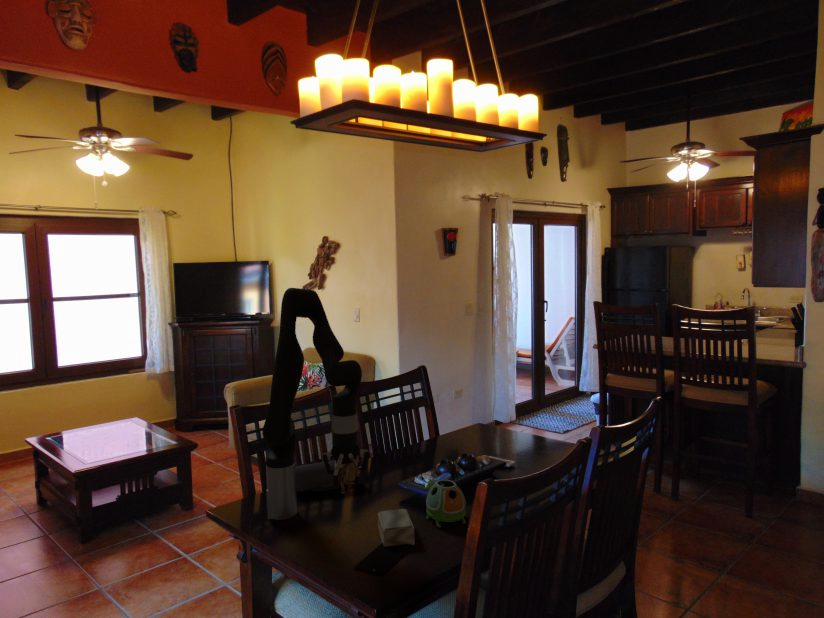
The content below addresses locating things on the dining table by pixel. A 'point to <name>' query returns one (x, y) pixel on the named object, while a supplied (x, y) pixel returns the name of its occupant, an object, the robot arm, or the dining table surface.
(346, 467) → the lion figurine
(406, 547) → the cell phone
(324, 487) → the bluetooth speaker
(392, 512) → the plinth
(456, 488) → the turtle holder
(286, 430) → the robot arm
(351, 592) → the dining table surface
